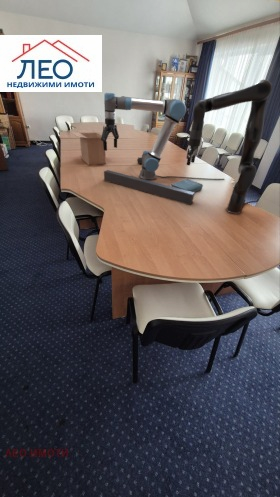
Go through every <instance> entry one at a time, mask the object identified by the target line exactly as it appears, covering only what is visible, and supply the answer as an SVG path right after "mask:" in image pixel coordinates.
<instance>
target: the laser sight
mask: <svg viewBox="0 0 280 497" xmlns="http://www.w3.org/2000/svg"><path fill="white" fill-rule="evenodd" d="M142 159H143V154H142V155H141V157H137V159H136V162H137V164H139V165H142Z"/></svg>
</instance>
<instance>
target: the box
mask: <svg viewBox="0 0 280 497" xmlns="http://www.w3.org/2000/svg"><path fill="white" fill-rule="evenodd" d="M70 133H71V134H72V135H74V136H75V137H77V138H79V144H80V153H81V160H83V162H85V163H86V165H87V166H95V165H97V166H98V165H106V163H107V162H106V158H107V157H106V151H105V150H104V146H103V141H102V140H101V137H102V133H103V131H98V132H96V131H95V130H92V129H91V130H77V132H76V131H70ZM107 138H114V136H113V135H111V134H109V135H108V137H107Z"/></svg>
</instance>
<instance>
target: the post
mask: <svg viewBox="0 0 280 497" xmlns="http://www.w3.org/2000/svg"><path fill="white" fill-rule="evenodd" d="M103 178H104V179H103V180H104V181H105V182H108V183H112V184H115V185H119V186H123V187H125V188H129V189H133V190H137V191H140V192H144V193H147V194H150V195H154V196H157V197H160V198H163V199H164V198H165V199H169V200H172V201H175V202H179V203H182V204H185V205H188V206H191V204H193V202H194V196H195V192H190V191H186V190H183V189H179V188H175V187H171V185H167V184H163V183H159V182H156V181H153V180H145V179H141V178H140V177H137V176H132V175H128V174H125V173H120V172H117V171H113V170H109V169H106V170H104V171H103Z"/></svg>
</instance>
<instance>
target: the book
mask: <svg viewBox="0 0 280 497" xmlns="http://www.w3.org/2000/svg"><path fill="white" fill-rule="evenodd" d="M170 186H171V187H175V188H179V189H183V190H186V191H190V192H194V193H196V192H198V191H201V190H203V187H204V184H203V183H201V182H198V181H195V180H192V179H190V178H184V179H182V180H179V181H177V182H176V181H175V182H173V183H171V184H170Z"/></svg>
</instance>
